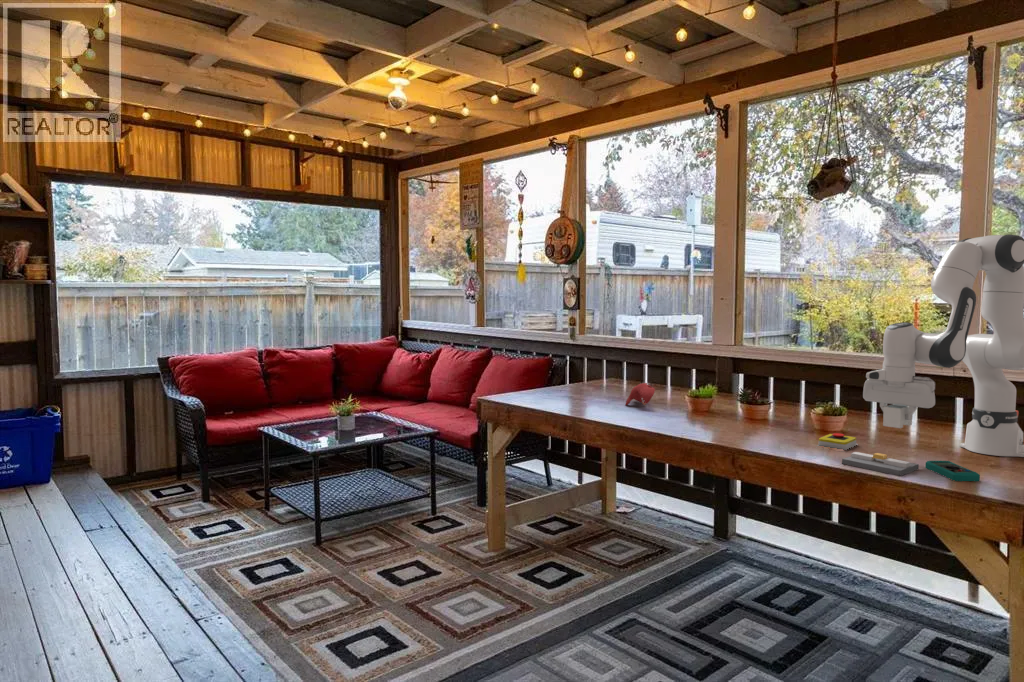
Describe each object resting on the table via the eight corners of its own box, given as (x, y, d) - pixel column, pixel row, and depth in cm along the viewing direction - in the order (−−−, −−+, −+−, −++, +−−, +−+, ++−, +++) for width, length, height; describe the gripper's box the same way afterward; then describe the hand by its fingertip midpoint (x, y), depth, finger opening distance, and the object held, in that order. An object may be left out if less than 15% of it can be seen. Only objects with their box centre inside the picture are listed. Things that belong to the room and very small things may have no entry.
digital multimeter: (954, 483, 186) (955, 472, 186) (924, 469, 201) (924, 459, 201) (981, 483, 186) (982, 473, 186) (948, 469, 201) (949, 459, 200)
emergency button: (859, 433, 231) (843, 440, 221) (858, 445, 231) (843, 453, 221) (831, 429, 238) (814, 436, 227) (831, 441, 238) (814, 448, 228)
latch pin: (876, 456, 204) (876, 452, 204) (886, 458, 202) (887, 454, 202) (872, 457, 203) (873, 454, 203) (883, 459, 200) (883, 455, 200)
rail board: (861, 457, 213) (861, 449, 213) (918, 469, 199) (918, 460, 199) (841, 463, 206) (842, 455, 205) (900, 475, 192) (900, 466, 192)
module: (894, 422, 213) (895, 403, 212) (911, 424, 209) (912, 405, 208) (883, 425, 208) (883, 406, 208) (900, 428, 204) (900, 408, 204)
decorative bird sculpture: (641, 420, 298) (664, 396, 297) (626, 406, 297) (649, 382, 296) (630, 409, 326) (651, 387, 325) (616, 396, 325) (637, 374, 325)
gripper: (939, 377, 201) (938, 421, 202) (870, 371, 217) (869, 412, 218) (930, 379, 197) (929, 424, 198) (860, 373, 213) (860, 415, 215)
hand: (897, 418), depth 208 cm, fingers closed on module, 5 cm apart
